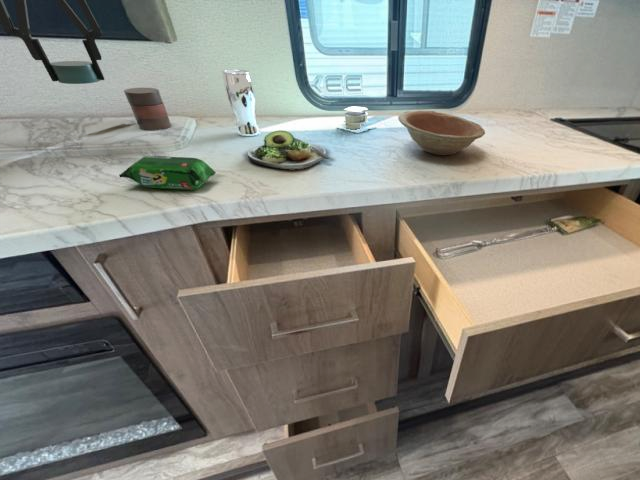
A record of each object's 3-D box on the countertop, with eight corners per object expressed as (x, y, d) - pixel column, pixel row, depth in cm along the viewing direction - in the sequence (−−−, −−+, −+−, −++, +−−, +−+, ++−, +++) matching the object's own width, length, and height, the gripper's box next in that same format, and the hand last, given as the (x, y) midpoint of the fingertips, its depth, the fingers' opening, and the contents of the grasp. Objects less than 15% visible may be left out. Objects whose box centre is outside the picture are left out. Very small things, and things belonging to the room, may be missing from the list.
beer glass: (231, 134, 95) (214, 71, 85) (246, 128, 100) (233, 68, 90) (251, 138, 93) (237, 74, 84) (266, 132, 99) (255, 71, 89)
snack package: (144, 177, 70) (132, 151, 67) (220, 179, 71) (212, 154, 68) (124, 191, 65) (109, 164, 61) (206, 194, 66) (197, 167, 62)
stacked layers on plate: (358, 134, 102) (358, 114, 99) (335, 128, 105) (334, 109, 102) (376, 127, 109) (376, 108, 105) (354, 122, 112) (353, 104, 109)
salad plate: (346, 155, 87) (345, 136, 84) (306, 178, 74) (303, 157, 71) (285, 142, 92) (282, 124, 89) (238, 162, 79) (233, 141, 76)
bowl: (458, 172, 82) (464, 138, 77) (380, 151, 91) (380, 118, 86) (492, 150, 98) (499, 120, 93) (422, 133, 107) (425, 105, 102)
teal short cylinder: (49, 81, 67) (39, 63, 65) (81, 76, 72) (72, 60, 70) (79, 85, 66) (70, 67, 64) (108, 80, 72) (101, 63, 70)
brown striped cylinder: (131, 128, 94) (115, 91, 88) (153, 121, 100) (139, 86, 94) (158, 131, 93) (143, 94, 87) (178, 124, 99) (166, 89, 93)
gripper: (-103, -105, 47) (11, 84, 63) (74, -80, 56) (137, 81, 71) (-85, -97, 52) (18, 77, 67) (76, -75, 61) (135, 75, 76)
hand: (79, 79), depth 69 cm, fingers closed on teal short cylinder, 7 cm apart
